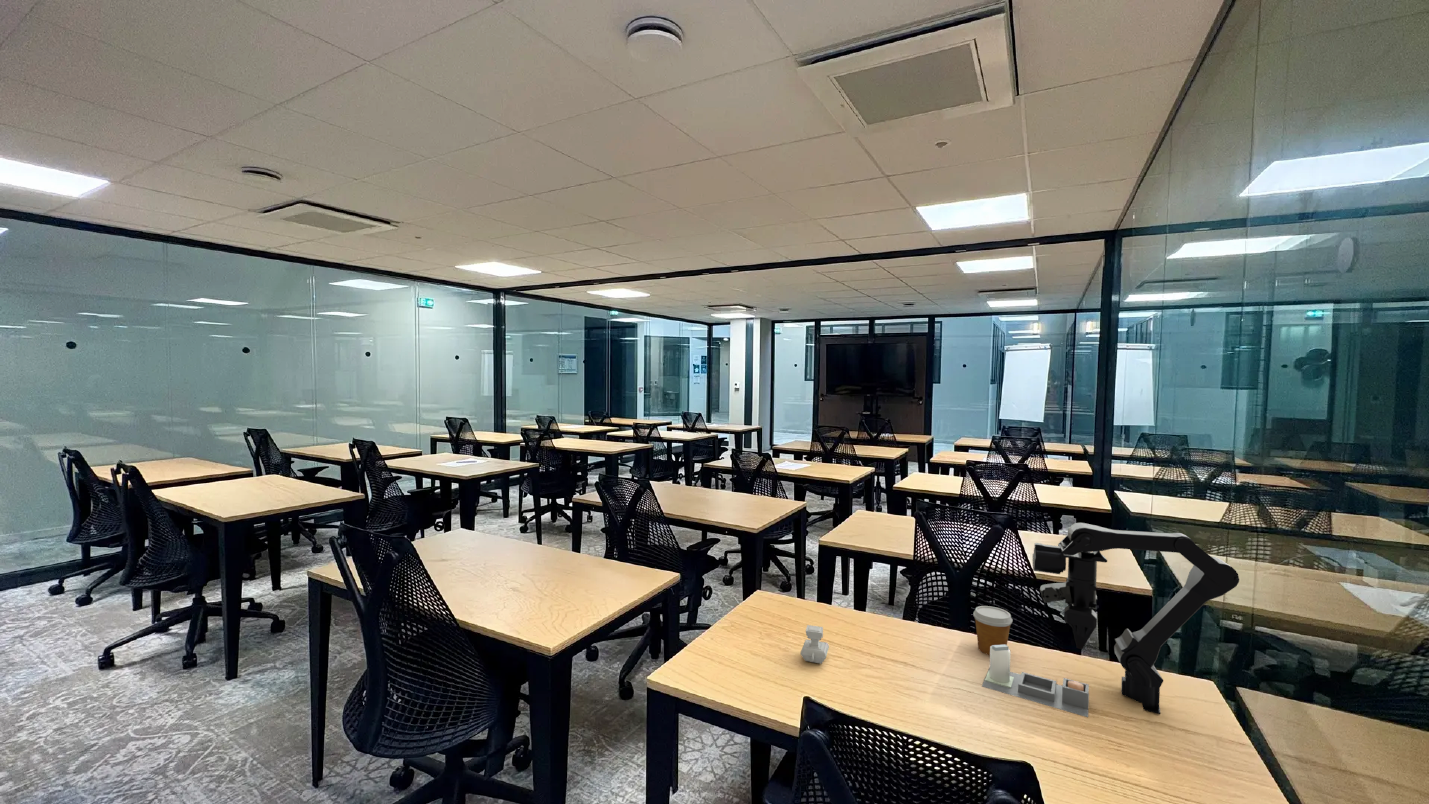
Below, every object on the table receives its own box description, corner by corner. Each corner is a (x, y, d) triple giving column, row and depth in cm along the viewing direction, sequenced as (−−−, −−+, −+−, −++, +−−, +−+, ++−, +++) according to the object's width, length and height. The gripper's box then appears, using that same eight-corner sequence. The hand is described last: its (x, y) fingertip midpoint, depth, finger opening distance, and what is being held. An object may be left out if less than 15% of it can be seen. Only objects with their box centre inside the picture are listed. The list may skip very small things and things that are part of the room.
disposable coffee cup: (1008, 668, 143) (1009, 622, 143) (968, 657, 149) (969, 613, 149) (1014, 654, 151) (1015, 611, 150) (976, 644, 156) (977, 602, 156)
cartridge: (1001, 673, 137) (1002, 641, 137) (1013, 682, 132) (1014, 649, 132) (985, 674, 136) (986, 642, 136) (997, 683, 132) (998, 650, 132)
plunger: (1083, 697, 126) (1083, 683, 126) (1083, 703, 123) (1083, 689, 123) (1067, 693, 127) (1068, 679, 127) (1067, 698, 125) (1067, 684, 125)
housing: (1088, 699, 129) (1089, 678, 129) (1087, 724, 119) (1088, 701, 119) (989, 671, 141) (990, 652, 141) (981, 692, 131) (982, 671, 131)
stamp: (825, 669, 141) (825, 637, 141) (799, 665, 143) (800, 633, 143) (829, 654, 149) (829, 623, 149) (804, 650, 151) (805, 619, 151)
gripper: (1045, 561, 144) (1044, 620, 145) (1039, 580, 129) (1037, 646, 129) (1097, 569, 138) (1095, 631, 138) (1097, 591, 123) (1095, 660, 123)
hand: (1080, 641), depth 132 cm, fingers open, 9 cm apart
